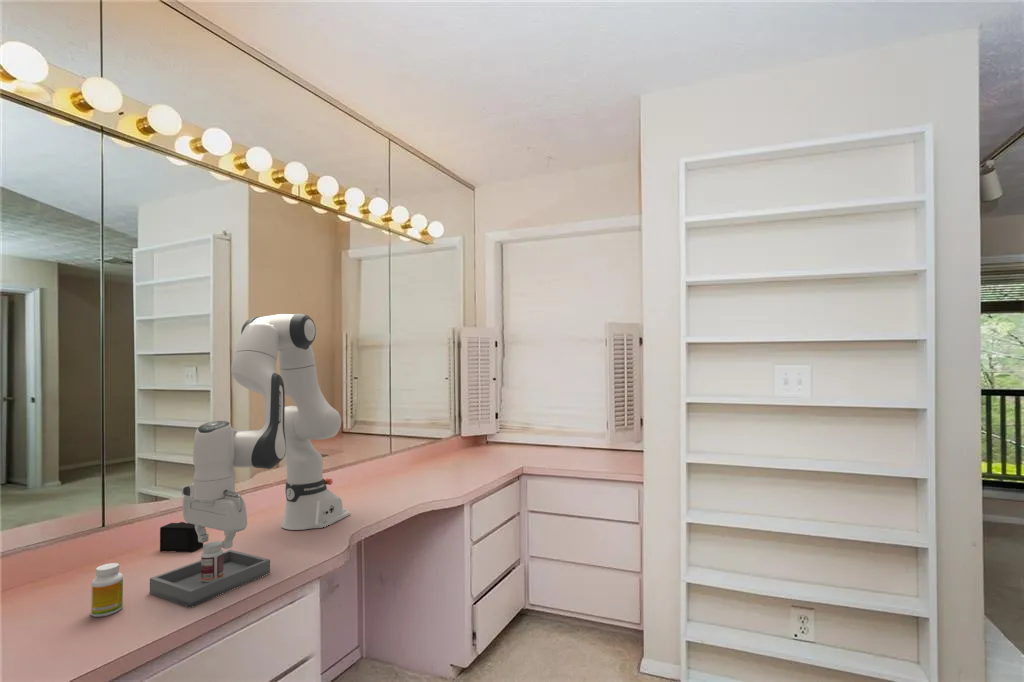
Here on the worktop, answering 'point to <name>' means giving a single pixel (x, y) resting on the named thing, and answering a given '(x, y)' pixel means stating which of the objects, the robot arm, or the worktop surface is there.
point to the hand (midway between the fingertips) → (215, 544)
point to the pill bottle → (212, 561)
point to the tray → (192, 591)
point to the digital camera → (179, 537)
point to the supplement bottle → (107, 590)
